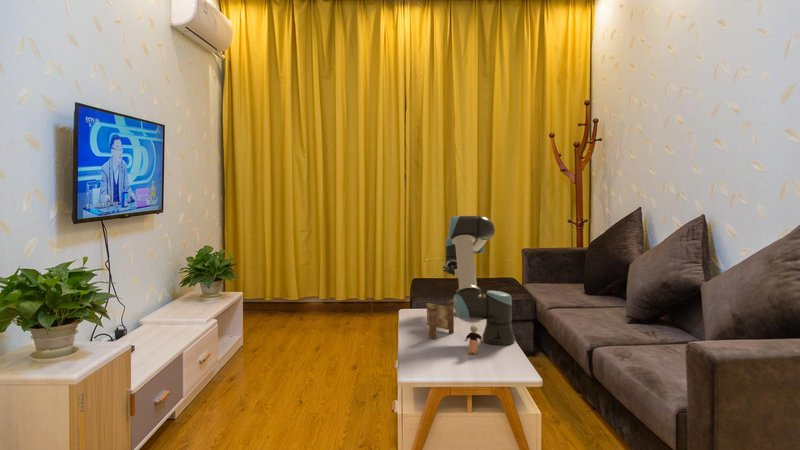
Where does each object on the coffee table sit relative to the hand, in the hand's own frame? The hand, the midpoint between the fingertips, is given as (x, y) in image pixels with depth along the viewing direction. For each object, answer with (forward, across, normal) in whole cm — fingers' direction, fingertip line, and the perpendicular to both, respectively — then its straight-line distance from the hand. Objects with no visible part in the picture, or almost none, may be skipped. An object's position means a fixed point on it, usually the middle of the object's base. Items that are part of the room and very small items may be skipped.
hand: (457, 273), depth 269 cm
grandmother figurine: (+44, -4, -28) cm, 53 cm away
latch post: (+22, +13, -28) cm, 38 cm away
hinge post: (+12, +4, -28) cm, 30 cm away
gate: (+6, +10, -26) cm, 29 cm away
